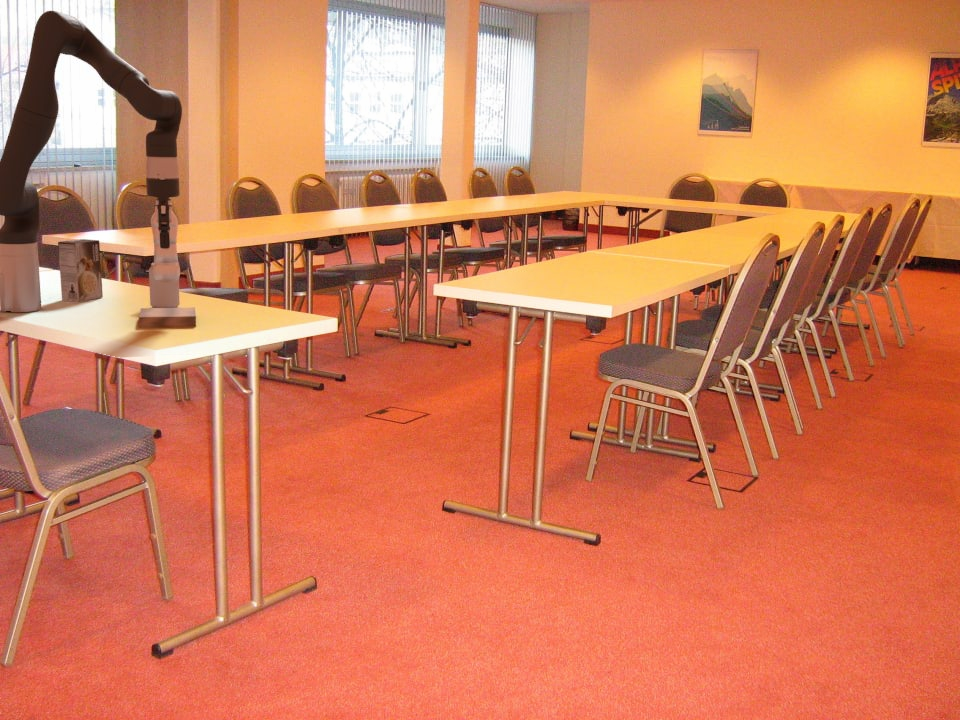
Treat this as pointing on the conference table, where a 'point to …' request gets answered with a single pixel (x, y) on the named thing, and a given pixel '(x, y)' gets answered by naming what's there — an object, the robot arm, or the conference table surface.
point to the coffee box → (80, 270)
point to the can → (163, 292)
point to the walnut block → (167, 317)
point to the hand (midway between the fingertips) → (165, 246)
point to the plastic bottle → (165, 251)
